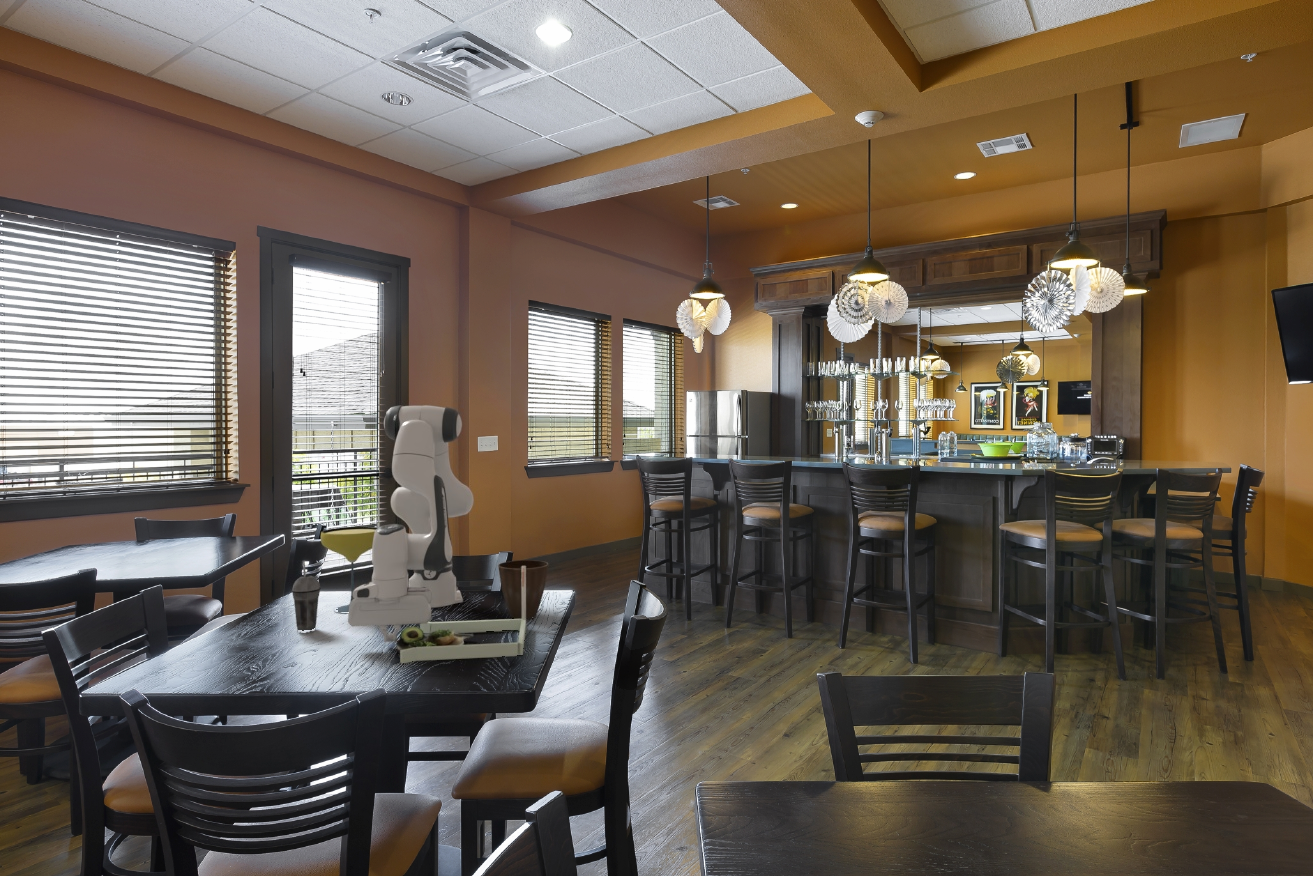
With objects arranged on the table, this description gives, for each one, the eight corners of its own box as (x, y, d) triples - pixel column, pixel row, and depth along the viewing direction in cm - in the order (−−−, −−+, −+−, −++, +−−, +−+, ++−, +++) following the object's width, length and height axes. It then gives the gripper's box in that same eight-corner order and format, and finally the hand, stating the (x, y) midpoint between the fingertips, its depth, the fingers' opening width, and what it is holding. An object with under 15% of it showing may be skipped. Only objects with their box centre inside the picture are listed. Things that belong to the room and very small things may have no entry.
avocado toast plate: (470, 633, 196) (470, 617, 196) (477, 652, 179) (477, 634, 179) (396, 640, 189) (396, 623, 189) (396, 660, 173) (396, 642, 173)
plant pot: (509, 609, 222) (509, 559, 222) (555, 611, 220) (554, 560, 220) (490, 622, 207) (490, 568, 207) (538, 624, 205) (538, 569, 205)
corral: (420, 631, 198) (420, 567, 198) (526, 627, 202) (526, 564, 202) (399, 664, 170) (399, 589, 170) (522, 658, 174) (522, 585, 174)
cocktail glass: (325, 604, 229) (325, 528, 229) (385, 600, 235) (384, 525, 235) (316, 618, 212) (316, 535, 212) (381, 613, 217) (380, 532, 217)
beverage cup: (326, 627, 202) (325, 557, 202) (311, 634, 195) (310, 562, 195) (302, 627, 203) (301, 557, 203) (286, 634, 195) (285, 562, 195)
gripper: (433, 584, 187) (434, 636, 188) (353, 586, 185) (353, 639, 185) (429, 589, 181) (429, 643, 181) (345, 592, 178) (346, 646, 178)
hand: (390, 641), depth 183 cm, fingers closed
